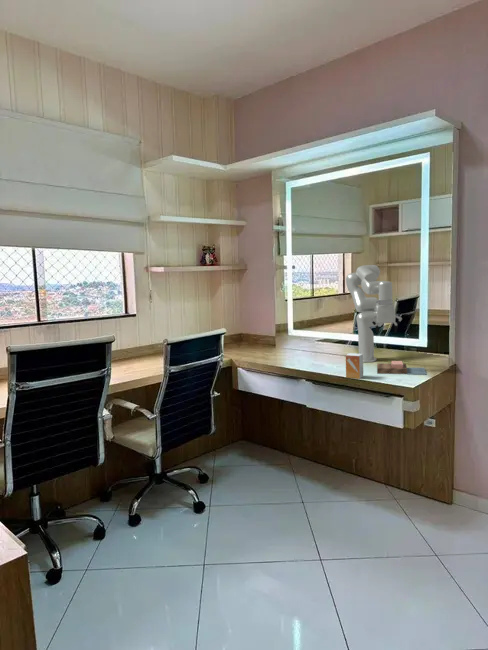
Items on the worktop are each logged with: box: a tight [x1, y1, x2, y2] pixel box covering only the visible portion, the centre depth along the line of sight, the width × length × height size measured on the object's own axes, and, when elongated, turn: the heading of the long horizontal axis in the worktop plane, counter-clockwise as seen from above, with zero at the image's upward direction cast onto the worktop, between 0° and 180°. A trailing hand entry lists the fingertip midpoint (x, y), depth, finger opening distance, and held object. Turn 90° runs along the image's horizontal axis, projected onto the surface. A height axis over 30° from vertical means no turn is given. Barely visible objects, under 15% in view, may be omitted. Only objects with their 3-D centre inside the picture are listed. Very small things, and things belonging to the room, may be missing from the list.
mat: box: [406, 367, 427, 376], centre depth 248 cm, size 10×15×1 cm, turn 163°
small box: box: [345, 352, 364, 380], centre depth 243 cm, size 8×6×13 cm
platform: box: [376, 362, 408, 375], centre depth 252 cm, size 16×13×3 cm
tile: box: [390, 360, 404, 368], centre depth 251 cm, size 6×9×2 cm, turn 163°
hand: (386, 332), depth 251 cm, fingers open, 9 cm apart
